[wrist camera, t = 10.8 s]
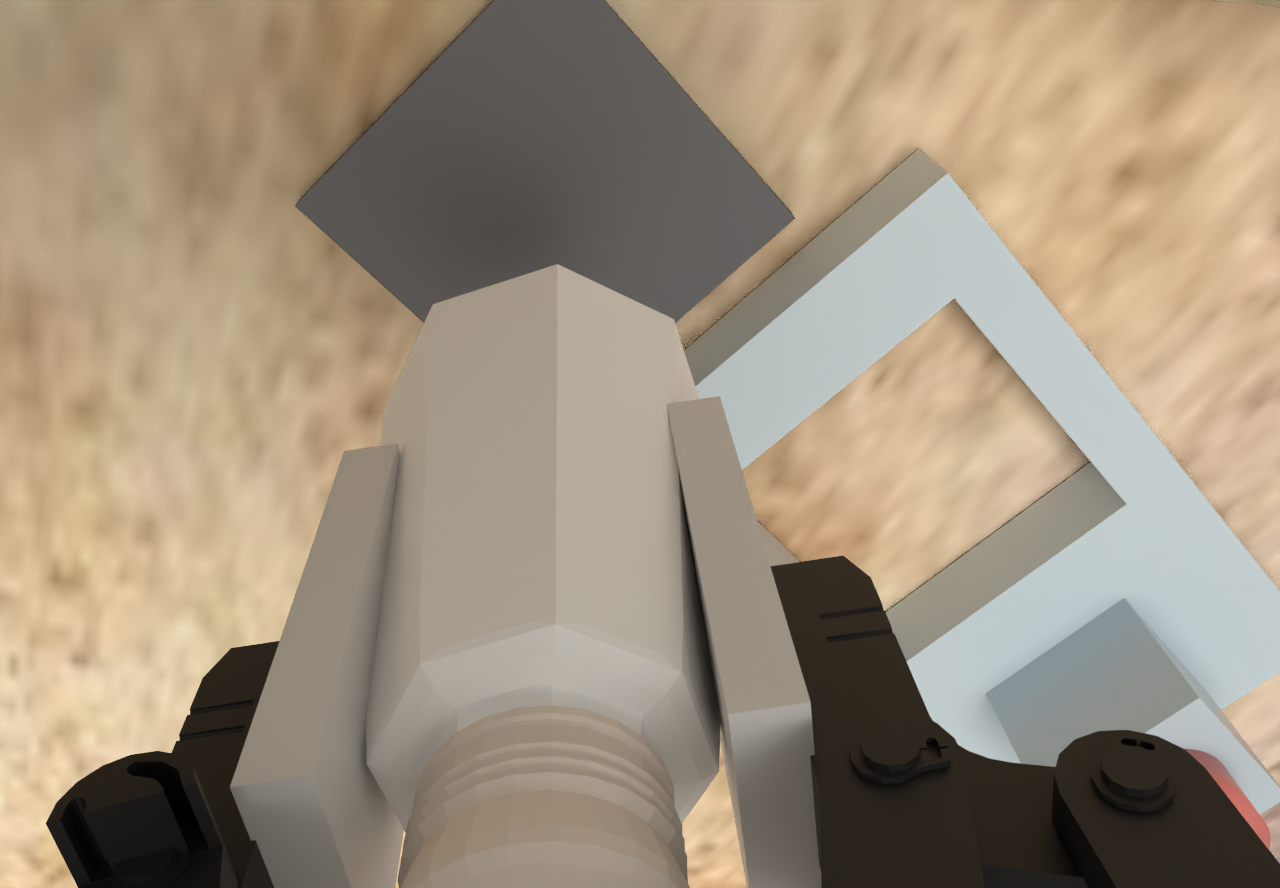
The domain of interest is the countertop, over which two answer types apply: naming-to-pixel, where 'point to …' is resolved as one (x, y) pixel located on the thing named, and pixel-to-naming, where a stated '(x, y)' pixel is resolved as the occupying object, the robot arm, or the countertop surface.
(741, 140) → the countertop surface
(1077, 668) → the frame
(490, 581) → the pepper shaker
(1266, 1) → the can
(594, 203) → the mat
